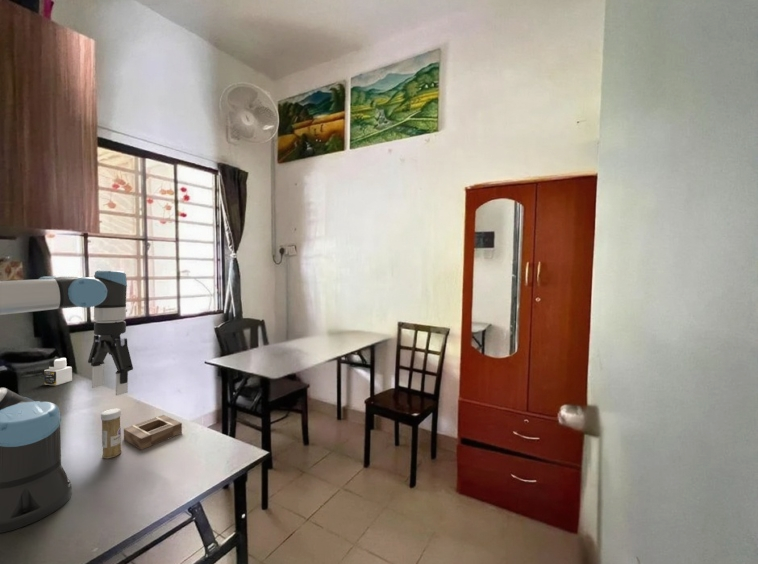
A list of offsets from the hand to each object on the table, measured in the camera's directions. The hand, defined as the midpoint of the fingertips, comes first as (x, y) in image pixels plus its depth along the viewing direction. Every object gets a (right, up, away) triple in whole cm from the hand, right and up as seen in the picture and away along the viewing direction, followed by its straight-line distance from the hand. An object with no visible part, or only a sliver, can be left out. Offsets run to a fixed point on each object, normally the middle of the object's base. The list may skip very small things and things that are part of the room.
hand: (109, 390), depth 99 cm
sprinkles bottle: (+2, -19, -1) cm, 19 cm away
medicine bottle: (-75, -17, +60) cm, 98 cm away
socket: (+7, -19, +10) cm, 22 cm away
